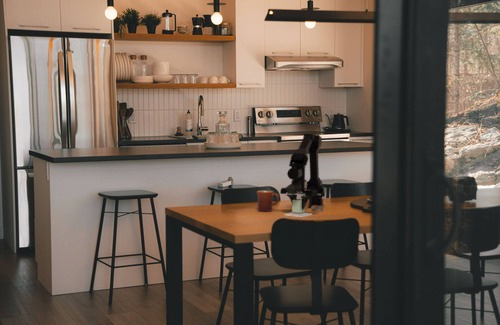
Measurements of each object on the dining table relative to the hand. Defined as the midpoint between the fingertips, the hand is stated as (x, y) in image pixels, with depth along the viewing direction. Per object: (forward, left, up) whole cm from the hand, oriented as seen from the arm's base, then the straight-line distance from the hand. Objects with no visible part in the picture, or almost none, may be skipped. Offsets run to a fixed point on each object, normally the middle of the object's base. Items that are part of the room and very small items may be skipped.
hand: (298, 209), depth 351 cm
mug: (-19, 0, -3) cm, 19 cm away
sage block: (0, 0, -1) cm, 1 cm away
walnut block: (0, +18, -3) cm, 18 cm away
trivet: (0, 0, -3) cm, 3 cm away
